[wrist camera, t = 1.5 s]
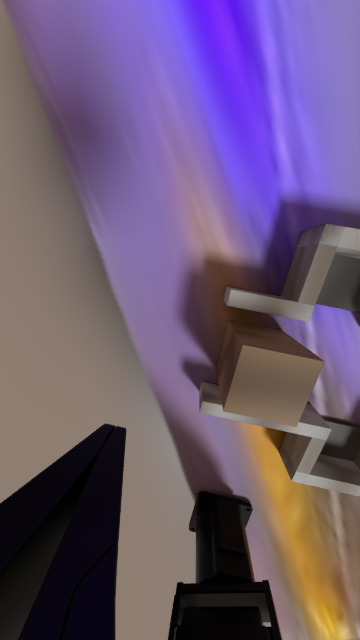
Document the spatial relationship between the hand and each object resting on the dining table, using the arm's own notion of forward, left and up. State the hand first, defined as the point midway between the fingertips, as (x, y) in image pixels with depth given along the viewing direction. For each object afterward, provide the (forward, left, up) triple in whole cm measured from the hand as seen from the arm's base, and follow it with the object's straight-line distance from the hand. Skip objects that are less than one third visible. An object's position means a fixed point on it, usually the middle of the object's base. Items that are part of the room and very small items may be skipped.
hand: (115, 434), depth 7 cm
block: (0, -8, -12) cm, 14 cm away
